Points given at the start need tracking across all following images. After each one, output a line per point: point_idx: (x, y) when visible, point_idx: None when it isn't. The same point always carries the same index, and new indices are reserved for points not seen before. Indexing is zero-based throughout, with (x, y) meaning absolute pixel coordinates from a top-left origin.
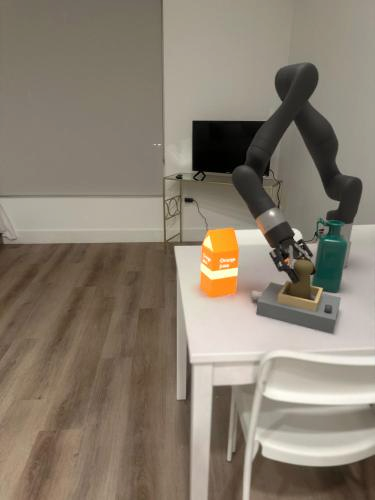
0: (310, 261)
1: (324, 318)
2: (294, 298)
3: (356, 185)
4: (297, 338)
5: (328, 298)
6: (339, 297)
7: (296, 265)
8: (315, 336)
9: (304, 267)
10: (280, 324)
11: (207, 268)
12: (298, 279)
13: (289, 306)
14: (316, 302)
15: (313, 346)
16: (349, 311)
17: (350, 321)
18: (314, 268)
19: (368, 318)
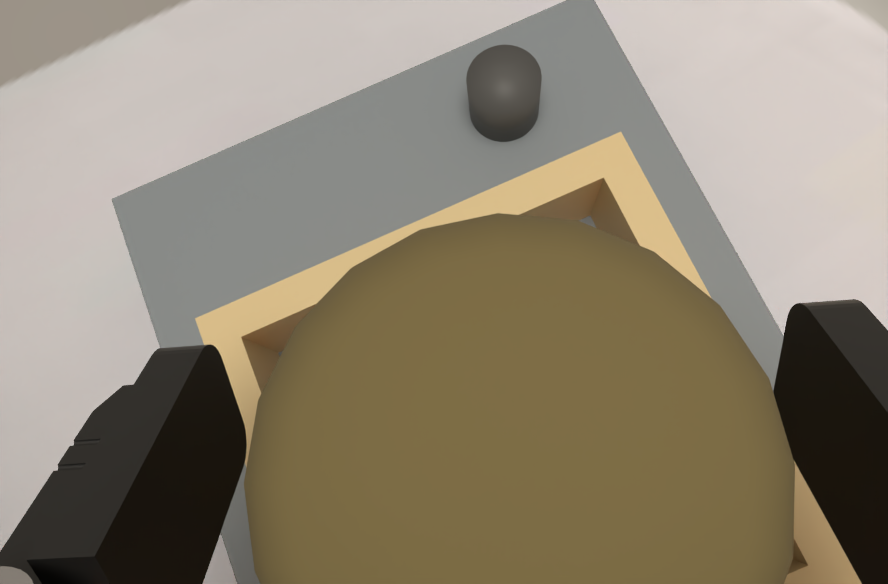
0: (69, 536)
1: (630, 72)
2: None
3: None
4: (877, 187)
5: (232, 260)
6: (124, 205)
7: (785, 557)
8: (721, 123)
9: (712, 306)
10: None
11: None
12: (862, 319)
13: None
14: (612, 147)
15: (852, 57)
16: (134, 176)
17: (286, 90)
18: (164, 391)
19: (135, 38)
